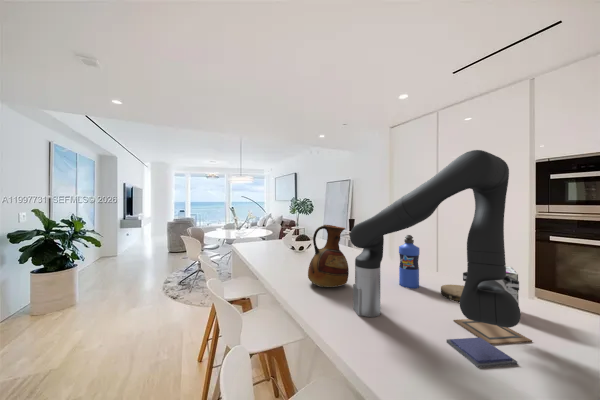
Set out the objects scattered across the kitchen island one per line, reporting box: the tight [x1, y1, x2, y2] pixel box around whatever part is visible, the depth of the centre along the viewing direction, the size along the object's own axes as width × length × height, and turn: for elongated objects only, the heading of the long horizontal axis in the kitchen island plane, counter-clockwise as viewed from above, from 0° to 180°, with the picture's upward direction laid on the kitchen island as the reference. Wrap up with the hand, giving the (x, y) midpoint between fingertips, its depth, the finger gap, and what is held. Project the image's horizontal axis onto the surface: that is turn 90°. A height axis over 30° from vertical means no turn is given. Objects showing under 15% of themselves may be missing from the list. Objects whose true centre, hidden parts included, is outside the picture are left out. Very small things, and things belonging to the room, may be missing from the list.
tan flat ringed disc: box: [440, 284, 464, 303], centre depth 106 cm, size 16×16×3 cm
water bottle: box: [398, 234, 420, 290], centre depth 120 cm, size 9×9×25 cm
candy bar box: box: [506, 266, 520, 306], centre depth 91 cm, size 11×5×16 cm, turn 148°
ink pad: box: [446, 337, 518, 368], centre depth 66 cm, size 11×11×1 cm
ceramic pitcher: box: [307, 223, 350, 288], centre depth 121 cm, size 20×20×30 cm
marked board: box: [453, 318, 533, 346], centre depth 78 cm, size 14×14×1 cm
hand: (489, 274), depth 80 cm, fingers closed on cork, 3 cm apart
